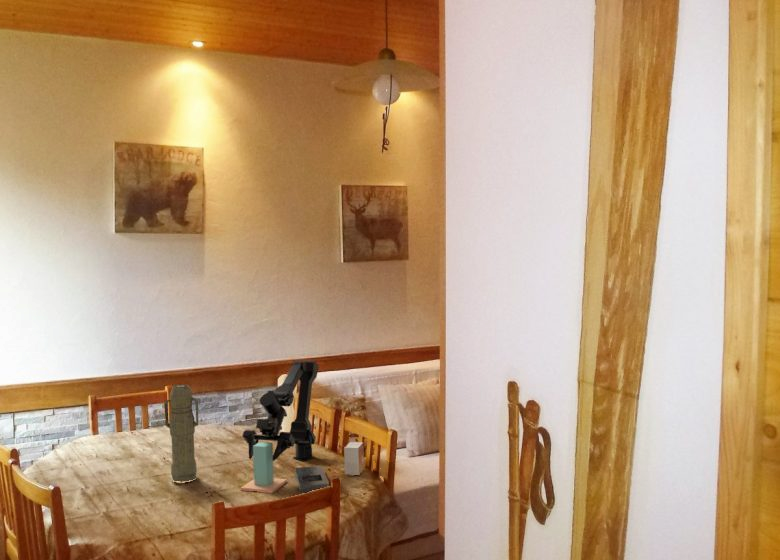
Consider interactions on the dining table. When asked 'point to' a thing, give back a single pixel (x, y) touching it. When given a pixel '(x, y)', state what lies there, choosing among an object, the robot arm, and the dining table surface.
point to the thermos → (182, 432)
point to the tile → (265, 489)
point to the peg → (263, 464)
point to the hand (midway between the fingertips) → (261, 459)
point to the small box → (354, 458)
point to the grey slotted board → (310, 478)
